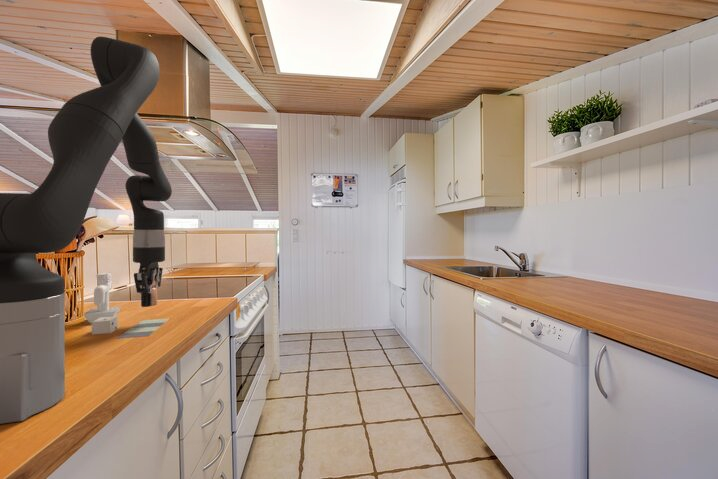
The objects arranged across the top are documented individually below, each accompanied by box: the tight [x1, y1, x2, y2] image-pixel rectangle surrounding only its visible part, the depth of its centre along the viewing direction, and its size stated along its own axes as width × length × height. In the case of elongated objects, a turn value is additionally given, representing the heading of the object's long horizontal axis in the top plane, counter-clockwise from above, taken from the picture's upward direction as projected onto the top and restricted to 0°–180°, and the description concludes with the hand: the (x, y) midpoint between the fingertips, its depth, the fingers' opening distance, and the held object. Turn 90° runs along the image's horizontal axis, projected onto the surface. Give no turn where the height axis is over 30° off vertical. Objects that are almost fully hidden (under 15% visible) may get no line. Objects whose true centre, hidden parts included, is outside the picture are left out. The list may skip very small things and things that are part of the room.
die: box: [91, 316, 119, 335], centre depth 77 cm, size 4×4×4 cm
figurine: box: [83, 272, 122, 325], centre depth 87 cm, size 7×9×15 cm
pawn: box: [147, 280, 158, 307], centre depth 83 cm, size 4×4×8 cm
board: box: [115, 318, 170, 340], centre depth 81 cm, size 16×7×1 cm, turn 17°
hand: (149, 304), depth 83 cm, fingers closed on pawn, 3 cm apart
